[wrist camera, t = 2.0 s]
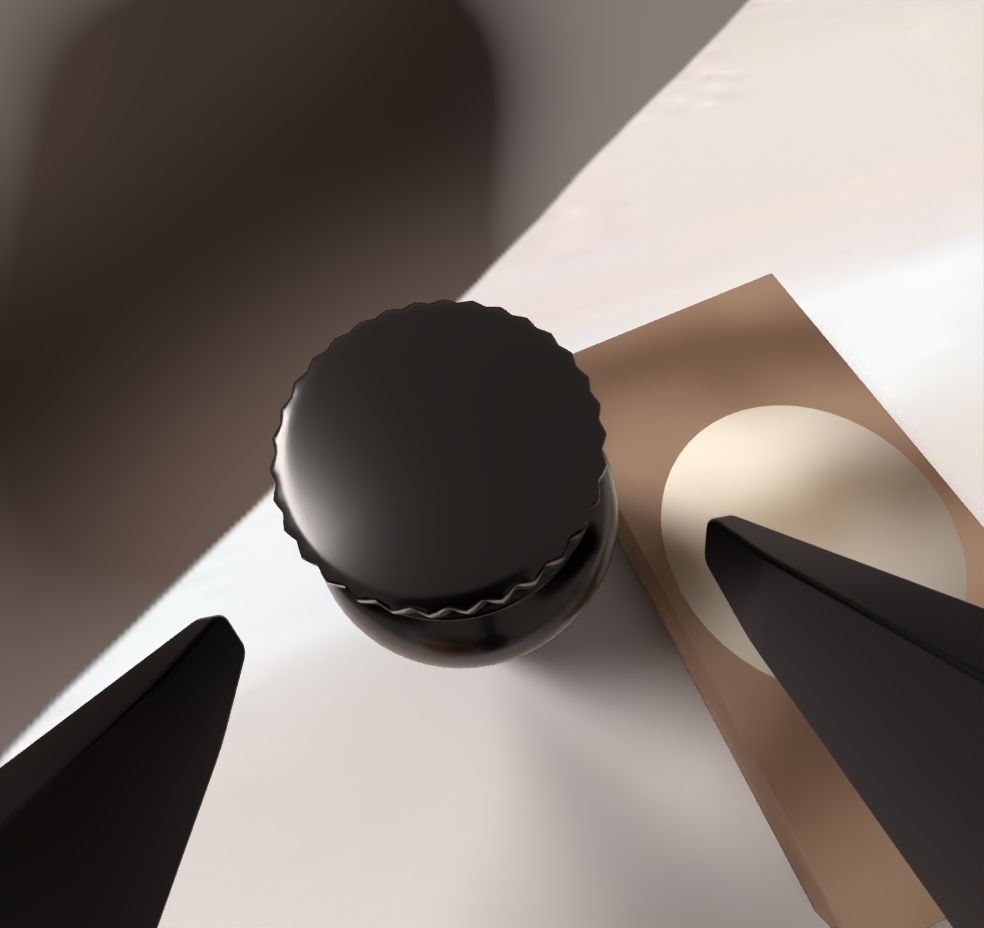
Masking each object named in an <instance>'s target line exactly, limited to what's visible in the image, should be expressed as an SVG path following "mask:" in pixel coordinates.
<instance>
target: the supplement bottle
mask: <svg viewBox="0 0 984 928" xmlns="http://www.w3.org/2000/svg"><path fill="white" fill-rule="evenodd" d="M600 412H601V404H600V402H599V401H598V400H597V398H596V397H595V396H594V394H593V393H592V392H591V391H590V380H589V376H587V375H586V374H585V373H584V372H583V371H582V370H580V369H579V368H578V367H577V366H576V362H575V359H574V356H573V354H572V353H571V352H570V351H568V350H567V349H565V348H563V347H561V346H559V345H558V343H557V342H556V340H555V338H554V337H553V335H552V334H551V333H549V332H547V331H544V330H541V329H538V328H536V327H535V326H534V324H533V323H532V322H531V321H530V320H529V319H528V318H525V317H521V316H514V315H511V314H510V313H509V312H507V311H506V310H504V309H503V308H501V307H485V306H483V305H481V304H479V303H477V302H474V301H466V302H460V303H456V302H453V301H449V300H445V299H443V300H439V301H436V302H434V303H430V304H428V303H416V302H415V303H412V304H410V305H408V306H407V307H405V308H403V309H393V310H386V311H385V312H383V313H382V314H380V315H379V316H378V317H376V318H375V319H371V320H366V321H363V322H360V323H358V324H357V325H356V326H355V327H354V328H353V329H352V330H351V331H350V332H349V333H347V334H344V335H342V336H339V337H337V338H335V339H334V340H333V342H332V343H331V344H330V346H329V348H328V349H327V350H326V351H325V352H323V353H321V354H319V355H317V356H316V357H314V358H313V359H312V361H311V363H310V365H309V368H308V370H307V372H306V373H305V374H304V375H303V376H301V377H300V378H299V379H298V380H297V381H295V382H294V386H293V389H292V395H291V398H290V399H289V400H288V402H286V403H285V405H284V406H283V407H282V409H281V416H280V421H281V424H280V426H279V428H278V429H277V431H276V433H275V435H274V437H273V446H274V450H275V456H274V459H273V461H272V464H271V467H270V471H271V474H272V477H273V478H274V480H275V482H276V487H275V491H274V502H275V503H276V505H277V506H278V507H279V509H280V510H281V511H282V512H283V517H284V519H283V525H284V531H285V532H286V533H287V534H289V535H290V536H291V537H292V538H294V539H295V540H297V544H298V548H299V551H300V554H301V557H302V559H304V560H305V561H307V562H309V563H311V564H313V565H315V566H318V567H319V569H320V571H321V574H322V576H323V577H324V579H325V582H326V584H327V586H328V588H329V590H330V592H331V594H332V595H333V597H334V599H335V601H336V602H337V603H338V605H339V606H340V607H341V609H342V610H343V612H344V613H345V614H346V615H347V616H348V617H349V619H350V620H351V621H352V622H353V623H354V624H355V625H356V626H357V627H358V628H359V629H360V630H362V631H363V632H364V633H365V634H366V635H367V636H368V637H370V638H371V639H373V640H374V641H375V642H377V643H378V644H380V645H381V646H383V647H385V648H386V649H388V650H390V651H392V652H394V653H396V654H398V655H400V656H403V657H405V658H408V659H410V660H413V661H416V662H420V663H423V664H427V665H433V666H438V667H446V668H478V667H484V666H490V665H495V664H499V663H503V662H507V661H510V660H513V659H515V658H518V657H521V656H523V655H526V654H528V653H530V652H532V651H533V650H535V649H537V648H539V647H541V646H543V645H544V644H546V643H547V642H549V641H550V640H552V639H553V638H555V637H556V636H557V635H558V634H560V633H561V632H562V631H563V630H565V629H566V628H567V627H568V626H569V625H570V624H571V623H572V622H573V621H574V620H575V619H576V618H577V617H578V616H579V615H580V614H581V612H582V611H583V610H584V609H585V607H586V606H587V605H588V604H589V602H590V601H591V599H592V598H593V596H594V595H595V593H596V591H597V590H598V588H599V586H600V584H601V582H602V580H603V578H604V576H605V574H606V572H607V569H608V566H609V564H610V561H611V558H612V554H613V550H614V547H615V542H616V535H617V528H618V498H617V492H616V485H615V480H614V477H613V473H612V469H611V466H610V464H609V461H608V458H607V456H606V453H605V451H604V449H603V448H604V446H605V442H606V439H607V433H606V431H605V429H604V427H603V425H602V424H601V422H600V420H599V418H600Z"/></svg>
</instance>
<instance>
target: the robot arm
mask: <svg viewBox="0 0 984 928" xmlns="http://www.w3.org/2000/svg"><path fill="white" fill-rule="evenodd" d="M705 560H706V564H707V566H708V568H709V570H710V572H711V573H712V575H713V577H714V579H715V580H716V582H717V584H718V586H719V588H720V589H721V591H722V593H723V595H724V596H725V598H726V600H727V602H728V603H729V605H730V607H731V609H732V611H733V612H734V614H735V616H736V618H737V619H738V621H739V623H740V625H741V626H742V628H743V630H744V632H745V633H746V635H747V637H748V638H749V640H750V641H751V643H752V644H753V646H754V647H755V649H756V650H757V652H758V653H759V655H760V656H761V658H762V659H763V660H764V662H765V663H766V665H767V666H768V667H769V669H770V670H771V672H772V673H773V674H774V676H775V677H776V679H777V680H778V682H779V683H780V684H781V686H782V687H783V689H784V690H785V691H786V693H787V694H788V696H789V697H790V698H791V700H792V701H793V703H794V704H795V706H796V707H797V708H798V710H799V711H800V713H801V714H802V715H803V717H804V718H805V720H806V721H807V722H808V724H809V725H810V727H811V728H812V730H813V731H814V732H815V734H816V735H817V737H818V738H819V739H820V741H821V742H822V744H823V745H824V746H825V748H826V749H827V751H828V752H829V754H830V755H831V756H832V758H833V759H834V761H835V762H836V763H837V765H838V766H839V768H840V769H841V770H842V772H843V773H844V775H845V776H846V778H847V779H848V780H849V782H850V783H851V785H852V786H853V787H854V789H855V790H856V792H857V793H858V794H859V796H860V797H861V799H862V800H863V802H864V803H865V804H866V806H867V807H868V809H869V810H870V811H871V813H872V814H873V816H874V817H875V818H876V820H877V821H878V823H879V824H880V826H881V827H882V828H883V830H884V831H885V833H886V834H887V835H888V837H889V838H890V840H891V841H892V842H893V844H894V845H895V847H896V848H897V850H898V851H899V852H900V854H901V855H902V857H903V858H904V859H905V861H906V862H907V864H908V865H909V867H910V868H911V869H912V871H913V872H914V874H915V875H916V876H917V878H918V879H919V881H920V882H921V883H922V885H923V886H924V888H925V889H926V891H927V892H928V893H929V895H930V896H931V898H932V899H933V900H934V902H935V903H936V905H937V906H938V907H939V909H940V910H941V912H942V913H943V915H944V916H945V917H946V919H947V920H948V922H949V923H950V924H951V926H952V927H953V928H984V608H983V607H980V606H977V605H974V604H972V603H969V602H966V601H964V600H961V599H958V598H956V597H953V596H950V595H947V594H945V593H942V592H939V591H937V590H934V589H931V588H929V587H926V586H923V585H920V584H918V583H915V582H912V581H910V580H907V579H904V578H902V577H899V576H896V575H893V574H891V573H888V572H885V571H883V570H880V569H877V568H875V567H872V566H869V565H866V564H864V563H861V562H858V561H856V560H853V559H850V558H848V557H845V556H842V555H840V554H837V553H834V552H831V551H829V550H826V549H823V548H821V547H818V546H815V545H813V544H810V543H807V542H804V541H802V540H799V539H796V538H794V537H791V536H788V535H786V534H783V533H780V532H777V531H775V530H772V529H769V528H767V527H764V526H761V525H759V524H756V523H753V522H750V521H748V520H745V519H742V518H740V517H737V516H734V515H727V516H722V517H717V518H712V519H710V520H709V521H708V523H707V528H706V541H705ZM244 658H245V649H244V645H243V643H242V641H241V640H240V638H239V637H238V635H237V633H236V632H235V630H234V629H233V627H232V626H231V624H230V622H229V621H228V619H227V618H226V617H224V616H222V615H215V616H210V617H205V618H200V619H198V620H195V621H194V622H193V623H191V624H190V625H189V626H187V627H186V628H185V629H183V630H182V631H181V632H179V633H178V634H177V635H175V636H174V637H173V638H171V639H170V640H169V641H167V642H166V643H165V644H163V645H162V646H161V647H159V648H158V649H157V650H156V651H154V652H153V653H152V654H150V655H149V656H148V657H146V658H145V659H144V660H142V661H141V662H140V663H138V664H137V665H136V666H134V667H133V668H132V669H130V670H129V671H128V672H126V673H125V674H124V675H122V676H121V677H120V678H119V679H117V680H116V681H115V682H113V683H112V684H111V685H109V686H108V687H107V688H105V689H104V690H103V691H101V692H100V693H99V694H97V695H96V696H95V697H93V698H92V699H91V700H89V701H88V702H87V703H85V704H84V705H83V706H81V707H80V708H79V709H78V710H76V711H75V712H74V713H72V714H71V715H70V716H68V717H67V718H66V719H64V720H63V721H62V722H60V723H59V724H58V725H56V726H55V727H54V728H52V729H51V730H50V731H48V732H47V733H46V734H44V735H43V736H42V737H41V738H39V739H38V740H37V741H35V742H34V743H33V744H31V745H30V746H29V747H27V748H26V749H25V750H23V751H22V752H21V753H19V754H18V755H17V756H15V757H14V758H13V759H11V760H10V761H9V762H7V763H6V764H5V765H3V766H2V767H1V768H0V928H157V927H158V925H159V922H160V919H161V916H162V913H163V911H164V908H165V905H166V902H167V899H168V897H169V894H170V891H171V888H172V885H173V883H174V880H175V877H176V874H177V871H178V868H179V866H180V863H181V860H182V857H183V854H184V852H185V849H186V846H187V843H188V840H189V838H190V835H191V832H192V829H193V826H194V823H195V821H196V818H197V815H198V812H199V809H200V807H201V804H202V801H203V798H204V795H205V793H206V790H207V787H208V784H209V781H210V779H211V776H212V773H213V770H214V767H215V764H216V762H217V759H218V756H219V753H220V750H221V747H222V743H223V739H224V736H225V733H226V729H227V725H228V721H229V717H230V713H231V709H232V705H233V701H234V698H235V694H236V690H237V686H238V682H239V678H240V674H241V670H242V666H243V662H244Z"/></svg>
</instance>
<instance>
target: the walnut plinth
mask: <svg viewBox="0 0 984 928" xmlns="http://www.w3.org/2000/svg"><path fill="white" fill-rule="evenodd" d="M573 356H574V359H575V362H576V366H577V367H578V368H579V369H580V370H582V371H583V372H584V373H585V374H586V375H587V376H589V380H590V391H591V392H592V393H593V394H594V396H595V397H596V398H597V400H598V401H599V402H600V404H601V412H600V418H599V420H600V422H601V424H602V425H603V427H604V429H605V431H606V433H607V439H606V442H605V446H604V448H603V449H604V451H605V453H606V456H607V458H608V461H609V464H610V466H611V469H612V473H613V477H614V480H615V485H616V492H617V498H618V528H617V537H618V539H619V541H620V543H621V545H622V547H623V549H624V550H625V552H626V554H627V556H628V558H629V560H630V562H631V564H632V566H633V568H634V569H635V571H636V573H637V575H638V577H639V579H640V581H641V583H642V585H643V586H644V588H645V590H646V592H647V594H648V596H649V598H650V600H651V602H652V603H653V605H654V607H655V609H656V611H657V613H658V615H659V617H660V619H661V621H662V622H663V624H664V626H665V628H666V630H667V632H668V634H669V636H670V638H671V639H672V641H673V643H674V645H675V647H676V649H677V651H678V653H679V655H680V657H681V658H682V660H683V662H684V664H685V666H686V668H687V670H688V672H689V674H690V675H691V677H692V679H693V681H694V683H695V685H696V687H697V689H698V691H699V692H700V694H701V696H702V698H703V700H704V702H705V704H706V706H707V708H708V710H709V711H710V713H711V715H712V717H713V719H714V721H715V723H716V725H717V727H718V728H719V730H720V732H721V734H722V736H723V738H724V740H725V742H726V744H727V746H728V747H729V749H730V751H731V753H732V755H733V757H734V759H735V761H736V763H737V764H738V766H739V768H740V770H741V772H742V774H743V776H744V778H745V780H746V781H747V783H748V785H749V787H750V789H751V791H752V793H753V795H754V797H755V799H756V800H757V802H758V804H759V806H760V808H761V810H762V812H763V814H764V816H765V817H766V819H767V821H768V823H769V825H770V827H771V829H772V831H773V833H774V835H775V836H776V838H777V840H778V842H779V844H780V846H781V848H782V850H783V852H784V853H785V855H786V857H787V859H788V861H789V863H790V865H791V867H792V869H793V870H794V872H795V874H796V876H797V878H798V880H799V882H800V884H801V886H802V888H803V889H804V891H805V893H806V895H807V897H808V899H809V901H810V903H811V905H812V906H813V908H814V910H815V912H816V913H817V914H818V915H819V916H820V917H821V918H822V919H823V920H824V921H825V922H826V923H827V924H828V925H829V926H830V927H831V928H929V927H931V926H932V925H934V924H936V923H938V922H939V921H941V920H943V919H945V918H946V917H945V916H944V915H943V913H942V912H941V910H940V909H939V907H938V906H937V905H936V903H935V902H934V900H933V899H932V898H931V896H930V895H929V893H928V892H927V891H926V889H925V888H924V886H923V885H922V883H921V882H920V881H919V879H918V878H917V876H916V875H915V874H914V872H913V871H912V869H911V868H910V867H909V865H908V864H907V862H906V861H905V859H904V858H903V857H902V855H901V854H900V852H899V851H898V850H897V848H896V847H895V845H894V844H893V842H892V841H891V840H890V838H889V837H888V835H887V834H886V833H885V831H884V830H883V828H882V827H881V826H880V824H879V823H878V821H877V820H876V818H875V817H874V816H873V814H872V813H871V811H870V810H869V809H868V807H867V806H866V804H865V803H864V802H863V800H862V799H861V797H860V796H859V794H858V793H857V792H856V790H855V789H854V787H853V786H852V785H851V783H850V782H849V780H848V779H847V778H846V776H845V775H844V773H843V772H842V770H841V769H840V768H839V766H838V765H837V763H836V762H835V761H834V759H833V758H832V756H831V755H830V754H829V752H828V751H827V749H826V748H825V746H824V745H823V744H822V742H821V741H820V739H819V738H818V737H817V735H816V734H815V732H814V731H813V730H812V728H811V727H810V725H809V724H808V722H807V721H806V720H805V718H804V717H803V715H802V714H801V713H800V711H799V710H798V708H797V707H796V706H795V704H794V703H793V701H792V700H791V698H790V697H789V696H788V694H787V693H786V691H785V690H784V689H783V687H782V686H781V684H780V683H779V682H778V680H777V679H776V677H775V676H774V674H773V673H772V672H771V670H770V669H769V667H768V666H767V665H766V663H765V662H764V660H763V659H762V658H761V656H760V655H759V653H758V652H757V650H756V649H755V647H754V646H753V644H752V643H751V641H750V640H749V638H748V637H747V635H746V633H745V632H744V630H743V628H742V626H741V625H740V623H739V621H738V619H737V618H736V616H735V614H734V612H733V611H732V609H731V607H730V605H729V603H728V602H727V600H726V598H725V596H724V595H723V593H722V591H721V589H720V588H719V586H718V584H717V582H716V580H715V579H714V577H713V575H712V573H711V572H710V570H709V568H708V566H707V564H706V560H705V541H706V528H707V523H708V521H709V520H710V519H712V518H717V517H722V516H727V515H734V516H737V517H740V518H742V519H745V520H748V521H750V522H753V523H756V524H759V525H761V526H764V527H767V528H769V529H772V530H775V531H777V532H780V533H783V534H786V535H788V536H791V537H794V538H796V539H799V540H802V541H804V542H807V543H810V544H813V545H815V546H818V547H821V548H823V549H826V550H829V551H831V552H834V553H837V554H840V555H842V556H845V557H848V558H850V559H853V560H856V561H858V562H861V563H864V564H866V565H869V566H872V567H875V568H877V569H880V570H883V571H885V572H888V573H891V574H893V575H896V576H899V577H902V578H904V579H907V580H910V581H912V582H915V583H918V584H920V585H923V586H926V587H929V588H931V589H934V590H937V591H939V592H942V593H945V594H947V595H950V596H953V597H956V598H958V599H961V600H964V601H966V602H969V603H972V604H974V605H977V606H980V607H983V608H984V528H983V526H982V525H981V524H980V523H979V522H978V520H977V519H976V518H975V517H974V516H973V514H972V513H971V512H970V511H969V510H968V508H967V507H966V506H965V505H964V504H963V502H962V501H961V500H960V499H959V498H958V496H957V495H956V494H955V493H954V492H953V490H952V489H951V488H950V487H949V486H948V484H947V483H946V482H945V481H944V480H943V478H942V477H941V476H940V475H939V474H938V472H937V471H936V470H935V469H934V468H933V466H932V465H931V464H930V463H929V462H928V460H927V459H926V458H925V457H924V456H923V454H922V453H921V452H920V451H919V450H918V448H917V447H916V446H915V445H914V444H913V442H912V441H911V440H910V439H909V438H908V436H907V435H906V434H905V433H904V432H903V430H902V429H901V428H900V427H899V426H898V424H897V423H896V422H895V421H894V420H893V418H892V417H891V416H890V415H889V414H888V412H887V411H886V410H885V409H884V408H883V406H882V405H881V404H880V403H879V402H878V400H877V399H876V398H875V397H874V396H873V394H872V393H871V392H870V391H869V390H868V388H867V387H866V386H865V385H864V384H863V382H862V381H861V380H860V379H859V378H858V376H857V375H856V374H855V373H854V372H853V370H852V369H851V368H850V367H849V366H848V364H847V363H846V362H845V361H844V360H843V358H842V357H841V356H840V355H839V354H838V352H837V351H836V350H835V349H834V348H833V346H832V345H831V344H830V343H829V342H828V340H827V339H826V338H825V337H824V336H823V334H822V333H821V332H820V331H819V330H818V328H817V327H816V326H815V325H814V324H813V322H812V321H811V320H810V319H809V318H808V316H807V315H806V314H805V313H804V312H803V310H802V309H801V308H800V307H799V306H798V304H797V303H796V302H795V301H794V300H793V298H792V297H791V296H790V295H789V293H788V292H787V291H786V290H785V289H784V287H783V286H782V285H781V284H780V283H779V281H778V280H777V279H776V278H775V277H774V275H773V274H772V273H771V274H769V275H766V276H764V277H761V278H759V279H756V280H754V281H751V282H749V283H746V284H744V285H741V286H739V287H737V288H734V289H732V290H729V291H727V292H724V293H722V294H719V295H717V296H714V297H712V298H709V299H707V300H705V301H702V302H700V303H697V304H695V305H692V306H690V307H687V308H685V309H682V310H680V311H677V312H675V313H673V314H670V315H668V316H665V317H663V318H660V319H658V320H655V321H653V322H650V323H648V324H645V325H643V326H641V327H638V328H636V329H633V330H631V331H628V332H626V333H623V334H621V335H618V336H616V337H614V338H611V339H609V340H606V341H604V342H601V343H599V344H596V345H594V346H591V347H589V348H586V349H584V350H582V351H579V352H577V353H574V354H573Z"/></svg>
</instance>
